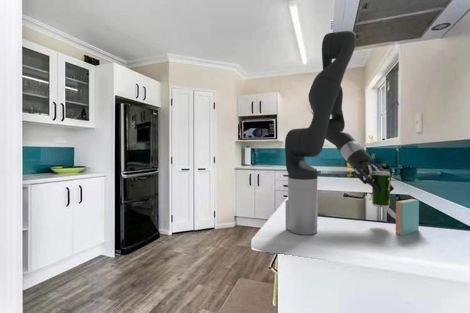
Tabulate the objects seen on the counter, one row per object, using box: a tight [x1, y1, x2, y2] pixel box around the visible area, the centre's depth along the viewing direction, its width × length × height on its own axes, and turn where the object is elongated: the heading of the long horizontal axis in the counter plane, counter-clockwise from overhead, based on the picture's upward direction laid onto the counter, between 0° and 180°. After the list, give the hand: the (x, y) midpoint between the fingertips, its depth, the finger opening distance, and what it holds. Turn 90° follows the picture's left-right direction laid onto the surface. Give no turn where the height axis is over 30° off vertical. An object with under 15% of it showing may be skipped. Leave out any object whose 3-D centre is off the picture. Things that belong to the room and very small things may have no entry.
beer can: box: [371, 170, 391, 208], centre depth 85 cm, size 5×5×12 cm
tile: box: [395, 198, 420, 236], centre depth 78 cm, size 2×9×10 cm, turn 117°
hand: (386, 191), depth 83 cm, fingers closed on beer can, 5 cm apart
